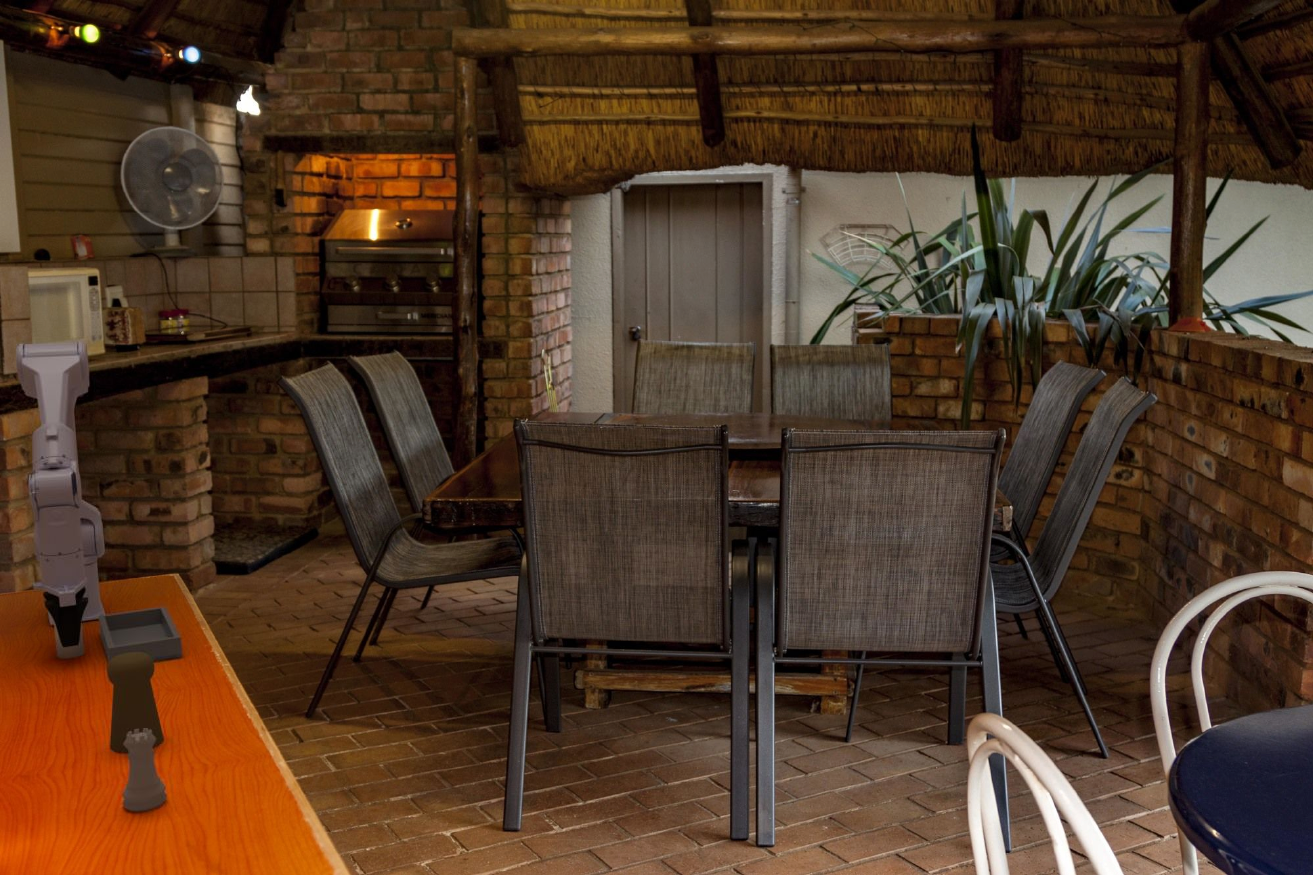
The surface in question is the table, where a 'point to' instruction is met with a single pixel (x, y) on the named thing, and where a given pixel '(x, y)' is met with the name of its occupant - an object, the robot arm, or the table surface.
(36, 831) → the table surface
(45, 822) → the table surface
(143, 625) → the trough
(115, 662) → the cork
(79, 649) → the cell
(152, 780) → the rook chess piece
